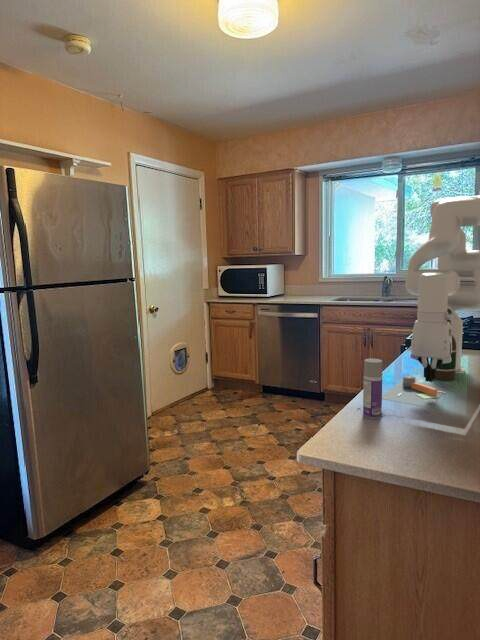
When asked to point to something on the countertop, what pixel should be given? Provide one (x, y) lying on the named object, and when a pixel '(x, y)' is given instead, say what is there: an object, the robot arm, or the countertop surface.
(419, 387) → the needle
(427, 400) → the tuner board
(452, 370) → the beer bottle
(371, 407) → the container
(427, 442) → the countertop surface
